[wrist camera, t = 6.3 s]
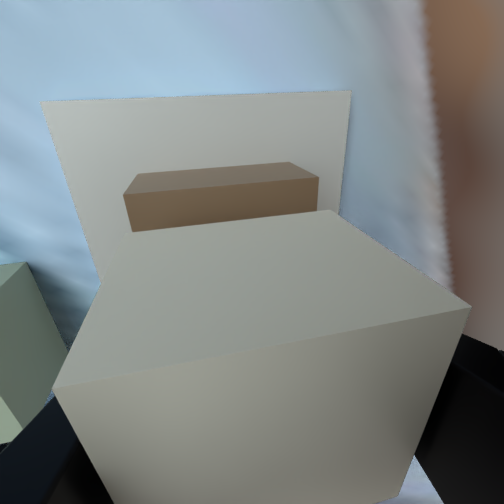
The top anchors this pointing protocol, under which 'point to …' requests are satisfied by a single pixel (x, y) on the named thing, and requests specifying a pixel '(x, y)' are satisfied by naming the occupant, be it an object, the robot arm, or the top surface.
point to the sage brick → (25, 350)
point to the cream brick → (258, 364)
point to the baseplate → (197, 160)
